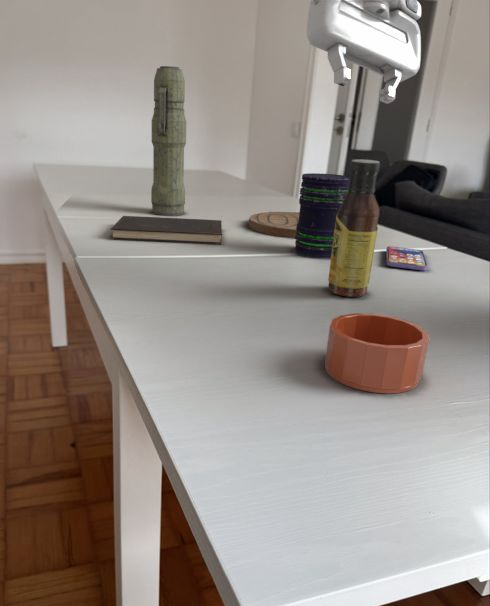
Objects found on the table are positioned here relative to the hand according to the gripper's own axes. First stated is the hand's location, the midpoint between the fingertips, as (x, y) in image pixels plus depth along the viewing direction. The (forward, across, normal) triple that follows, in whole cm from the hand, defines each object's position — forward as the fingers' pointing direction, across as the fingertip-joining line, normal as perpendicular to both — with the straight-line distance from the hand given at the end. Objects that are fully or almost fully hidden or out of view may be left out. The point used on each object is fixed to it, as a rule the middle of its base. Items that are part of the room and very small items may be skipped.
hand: (365, 92), depth 79 cm
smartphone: (+19, +30, +16) cm, 39 cm away
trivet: (+7, +30, +48) cm, 57 cm away
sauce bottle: (+28, +4, +7) cm, 29 cm away
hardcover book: (+12, -3, +53) cm, 55 cm away
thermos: (0, +9, +76) cm, 77 cm away
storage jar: (+17, +18, +28) cm, 37 cm away
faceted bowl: (+40, -14, -14) cm, 44 cm away
